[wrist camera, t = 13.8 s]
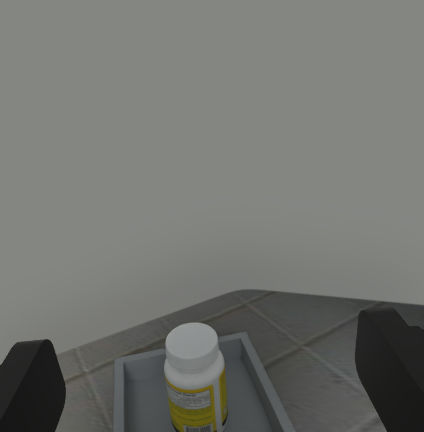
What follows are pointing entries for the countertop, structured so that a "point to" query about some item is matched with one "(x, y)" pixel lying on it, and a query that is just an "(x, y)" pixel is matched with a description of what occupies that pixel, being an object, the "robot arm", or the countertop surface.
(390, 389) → the robot arm
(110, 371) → the countertop surface
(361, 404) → the countertop surface
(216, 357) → the supplement bottle
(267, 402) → the bin
